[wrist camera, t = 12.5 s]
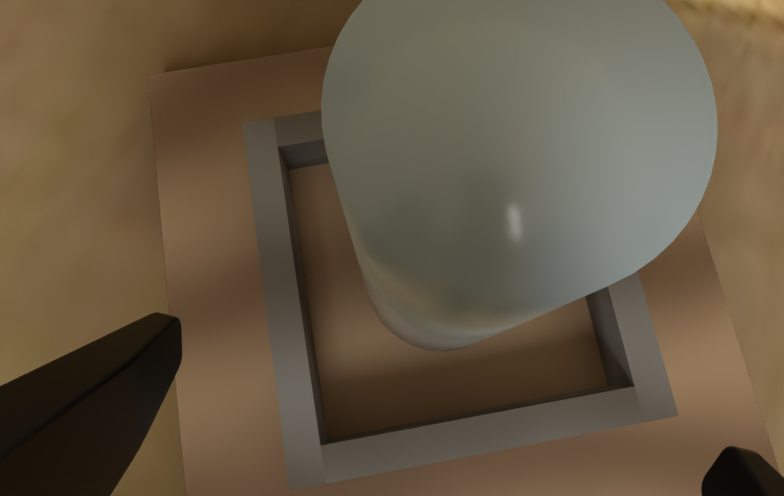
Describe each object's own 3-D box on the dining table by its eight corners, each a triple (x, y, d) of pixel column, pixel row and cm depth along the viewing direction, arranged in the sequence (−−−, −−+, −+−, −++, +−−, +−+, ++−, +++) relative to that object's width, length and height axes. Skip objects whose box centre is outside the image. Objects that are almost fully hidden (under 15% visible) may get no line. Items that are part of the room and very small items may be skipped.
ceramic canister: (547, 289, 19) (802, 139, 7) (427, 383, 18) (491, 389, 6) (452, 175, 20) (540, -125, 8) (335, 260, 19) (244, 70, 7)
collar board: (770, 502, 18) (842, 525, 15) (208, 614, 17) (172, 660, 15) (619, 15, 22) (654, -41, 19) (158, 88, 22) (122, 42, 19)
